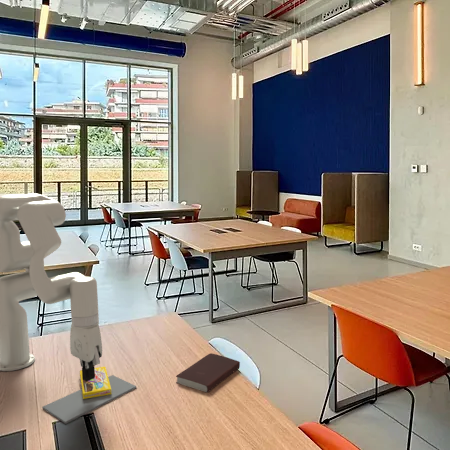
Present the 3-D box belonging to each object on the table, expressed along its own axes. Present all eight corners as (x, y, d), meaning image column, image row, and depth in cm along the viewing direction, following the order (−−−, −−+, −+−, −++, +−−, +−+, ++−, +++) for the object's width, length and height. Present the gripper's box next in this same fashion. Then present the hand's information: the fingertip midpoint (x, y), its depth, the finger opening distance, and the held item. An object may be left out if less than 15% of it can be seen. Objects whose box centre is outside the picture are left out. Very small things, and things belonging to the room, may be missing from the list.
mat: (42, 408, 123) (42, 406, 123) (112, 376, 142) (112, 375, 142) (65, 423, 116) (65, 421, 116) (136, 388, 134) (136, 386, 134)
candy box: (79, 369, 141) (105, 365, 144) (79, 375, 141) (105, 372, 144) (82, 393, 126) (112, 388, 129) (82, 400, 126) (112, 395, 129)
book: (240, 369, 147) (240, 360, 146) (207, 394, 130) (207, 384, 130) (209, 361, 153) (209, 352, 153) (175, 384, 137) (175, 374, 137)
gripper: (59, 317, 128) (63, 376, 130) (88, 329, 119) (92, 392, 121) (82, 311, 134) (85, 367, 136) (111, 321, 124) (114, 381, 127)
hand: (88, 379), depth 129 cm, fingers closed
